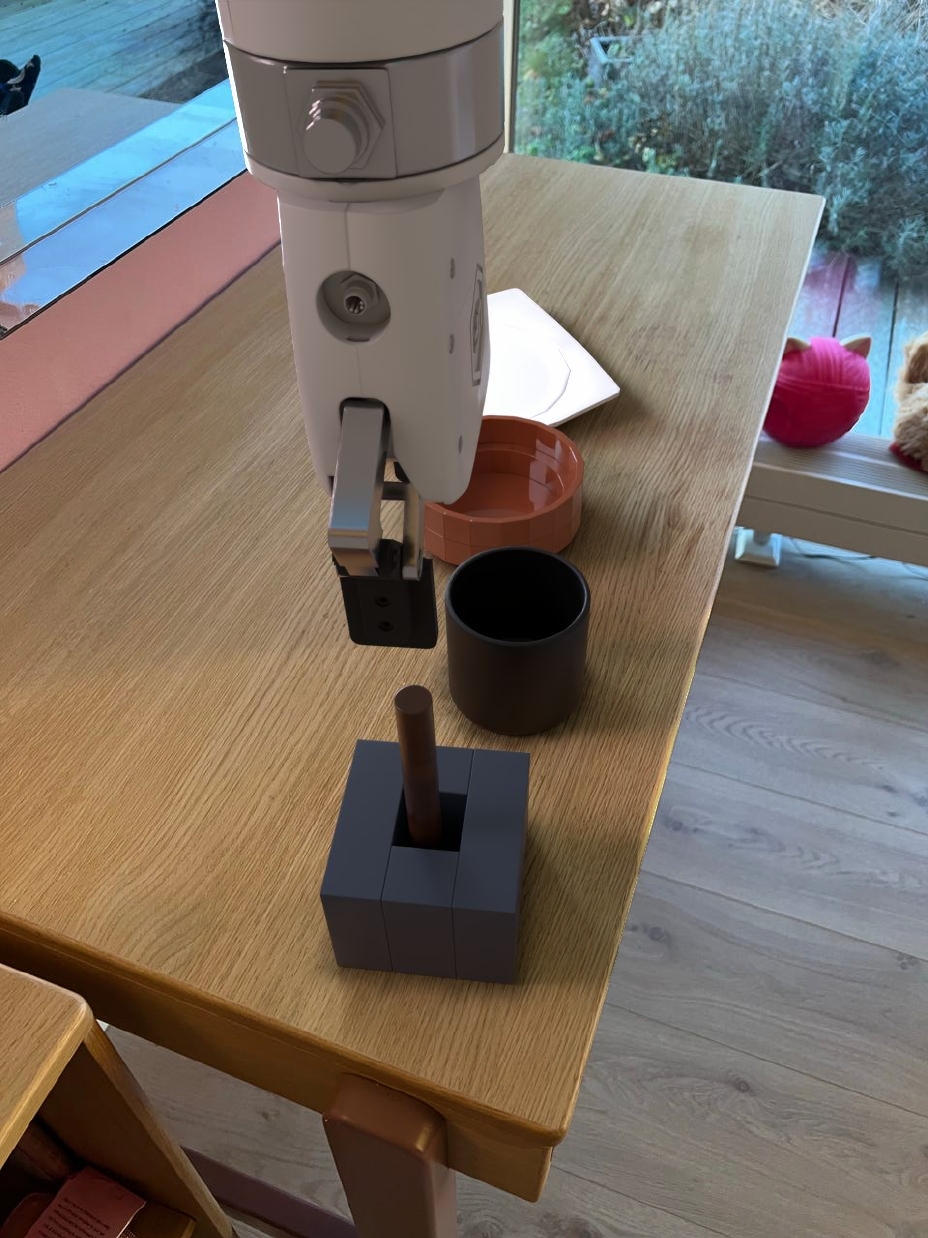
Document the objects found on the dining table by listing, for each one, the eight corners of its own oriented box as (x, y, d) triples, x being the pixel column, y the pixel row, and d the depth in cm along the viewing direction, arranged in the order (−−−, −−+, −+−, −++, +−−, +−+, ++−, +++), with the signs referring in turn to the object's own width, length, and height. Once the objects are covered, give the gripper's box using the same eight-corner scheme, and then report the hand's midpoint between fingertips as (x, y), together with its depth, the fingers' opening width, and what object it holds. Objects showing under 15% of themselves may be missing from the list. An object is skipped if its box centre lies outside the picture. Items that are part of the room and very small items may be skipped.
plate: (522, 303, 109) (522, 280, 107) (636, 418, 93) (639, 394, 91) (307, 354, 103) (303, 331, 101) (390, 488, 87) (388, 463, 85)
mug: (597, 623, 75) (606, 530, 68) (571, 749, 67) (578, 657, 60) (474, 604, 77) (472, 512, 70) (434, 724, 68) (427, 633, 62)
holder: (527, 830, 62) (530, 752, 57) (514, 985, 55) (515, 913, 50) (369, 816, 63) (356, 738, 58) (336, 966, 56) (318, 894, 51)
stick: (448, 882, 60) (435, 685, 47) (444, 910, 59) (429, 715, 46) (419, 879, 60) (397, 682, 47) (414, 907, 59) (390, 712, 46)
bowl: (583, 471, 88) (586, 418, 84) (576, 581, 78) (580, 527, 74) (423, 463, 89) (419, 411, 86) (397, 570, 80) (391, 516, 76)
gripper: (467, 234, 22) (486, 729, 34) (527, 6, 34) (525, 432, 46) (135, 229, 22) (270, 714, 35) (309, 8, 34) (364, 426, 47)
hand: (415, 553), depth 40 cm, fingers open, 9 cm apart
